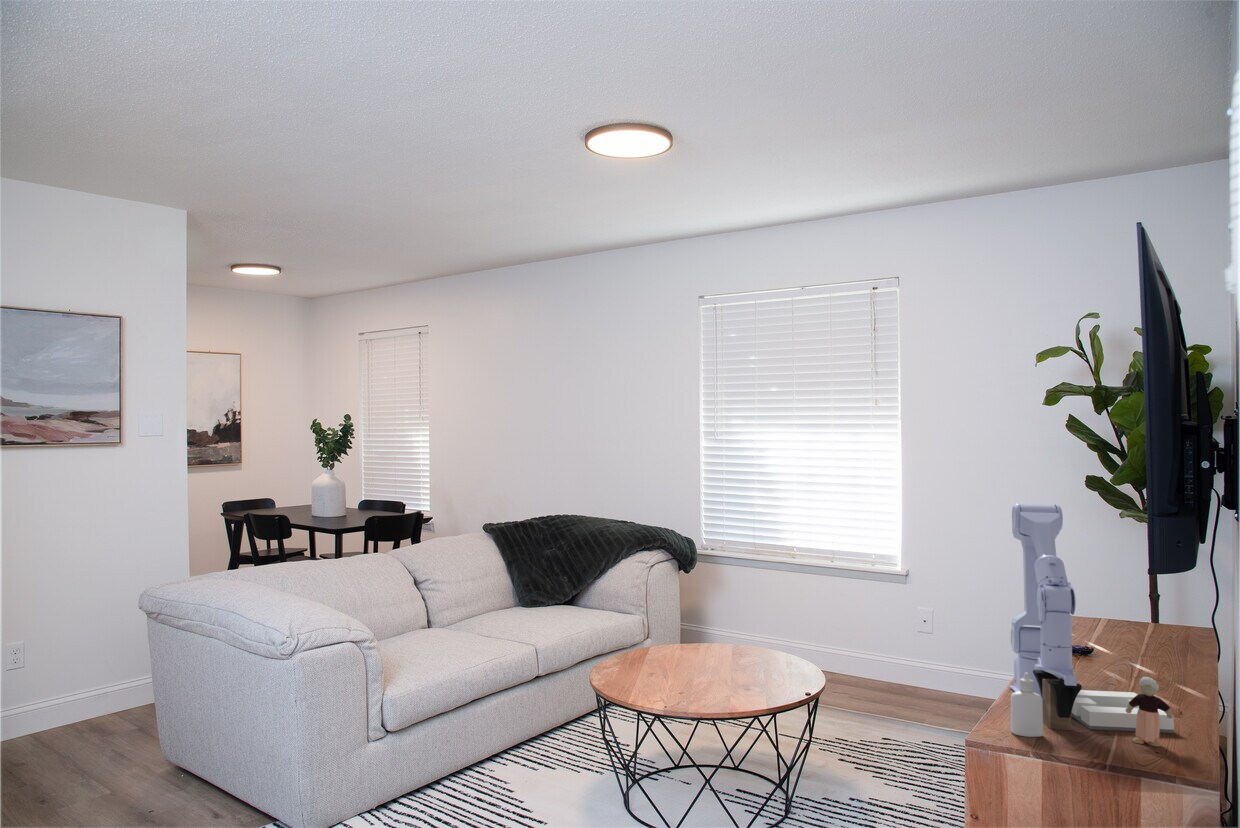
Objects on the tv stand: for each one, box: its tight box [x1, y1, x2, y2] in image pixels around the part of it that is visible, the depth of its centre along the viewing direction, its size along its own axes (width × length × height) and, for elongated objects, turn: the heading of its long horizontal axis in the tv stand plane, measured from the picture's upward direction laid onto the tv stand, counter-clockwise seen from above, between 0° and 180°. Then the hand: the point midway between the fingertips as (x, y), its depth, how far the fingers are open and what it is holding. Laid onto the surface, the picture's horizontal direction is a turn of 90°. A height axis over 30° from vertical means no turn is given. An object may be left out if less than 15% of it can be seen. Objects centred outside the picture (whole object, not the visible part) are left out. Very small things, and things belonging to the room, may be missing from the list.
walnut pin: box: [1042, 679, 1072, 731], centre depth 172 cm, size 4×4×9 cm
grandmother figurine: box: [1126, 676, 1174, 747], centre depth 163 cm, size 8×4×13 cm, turn 69°
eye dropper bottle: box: [1010, 673, 1044, 738], centre depth 167 cm, size 4×6×12 cm
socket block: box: [1071, 689, 1175, 734], centre depth 177 cm, size 16×16×4 cm
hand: (1056, 711), depth 172 cm, fingers open, 6 cm apart
